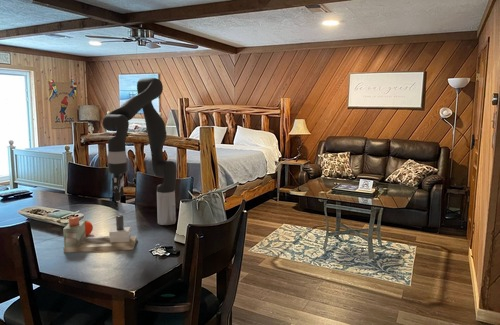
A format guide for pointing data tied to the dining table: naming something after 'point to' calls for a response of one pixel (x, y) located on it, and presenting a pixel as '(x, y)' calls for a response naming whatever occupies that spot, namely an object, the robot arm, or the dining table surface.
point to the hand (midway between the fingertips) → (119, 198)
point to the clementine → (88, 228)
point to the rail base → (103, 246)
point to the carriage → (120, 231)
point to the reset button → (74, 221)
